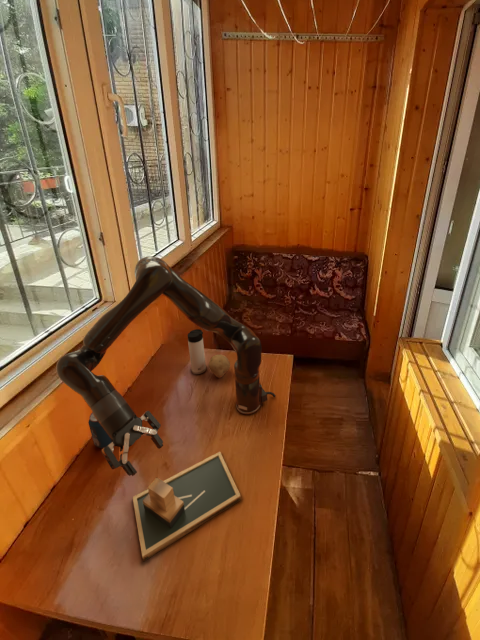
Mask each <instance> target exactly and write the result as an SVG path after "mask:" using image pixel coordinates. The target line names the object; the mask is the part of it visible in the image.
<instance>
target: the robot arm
mask: <svg viewBox="0 0 480 640" xmlns="http://www.w3.org/2000/svg"><path fill="white" fill-rule="evenodd" d="M134 278H135V282H134V283H133V286H132V287H131V289H130V290H129V292H128V293H127V294H126V296H124V298H123V299H122V300H121V301H119V303H117V304H116V305H115V306H114V307H112V308H111V309H109V310H107V311H106V312H105V313H104V314H103V315H102V316H101V317H99V319H98V320H96V322H95V323H94V324H93V325H92V327H91V328H90V329H89V330H88V331H87V332H86V334H85V335H84V336H83V339H82V343H83V345H82V346H81V347H80V348H79V349H78V350H75V351H72V352H69V353H66V354H64V355H62V356H61V357H60V358H59V359H58V360H57V362H56V366H55V369H56V370H55V371H56V374H57V377H58V378H59V380H61V382H62V383H64V385H66V386H67V387H68V388H70V389H71V390H72V391H74V392H75V393H77V394H78V395H80V396H81V398H82V399H83V400H84V402H85V403H86V405H87V406H88V407H89V409H90V410H91V413H92V412H93V414H94V416H95V418H96V419H97V421H98V422H99V423H100V424H101V426H102V427H103V429H104V430H105V431H106V433H107V434H108V435H109V437H110V438H111V441H112V443H110V444H109V445H108V446H106V447H104V448H101V455H102V456H103V457H104V459H105V461H106V462H107V464H108V465H109V467H110V469H111V470H116V469H118V468H120V467H121V468H122V470H124V472H125V474H126V475H127V476H132V477H133V476H135V475H136V474H137V473H138V471H137V470H136V468H135V467H134V466H133V464H132V463H131V462H130V460H128V456H129V455H128V453H129V450H130V449H129V448H130V447H132V446H133V445H134V444H135V442H136V441H138V440H139V439H140V438H141V437H150V440H151V441H152V443H153V444H154V445H155V446H156V448H157V449H158V450H159V449H162V447H164V440H163V438H161V436H160V435H159V434H158V431H159V430H160V428H161V423H160V422H159V420H157V418H156V417H155V416H154V415H153V414H152V413H151V411H150V410H146V411H145V412H143V413H142V415H141V416H140V417H139V416H137V414H136V412H135V411H134V410H133V408H132V407H131V406H130V405H129V403H128V402H127V400H126V399H125V398H124V396H122V394H121V393H120V392H119V391H118V390H117V389H116V388H115V386H114V385H113V383H112V382H111V380H110V379H109V378H108V377H107V376H106V375H103V374H95V373H94V372H92V371H94V370H95V369H96V368H97V367H98V366H99V364H100V363H101V362H102V360H103V358H104V356H105V355H106V353H107V351H108V349H109V348H111V346H112V345H113V344H114V343H115V341H116V340H117V339H118V338H119V337H120V336H121V335H122V333H123V332H124V331H125V330H126V328H127V327H128V326H129V325H131V323H132V322H133V321H134V320H135V319H136V318H137V317H138V316H139V315H140V314H141V313H142V312H143V311H144V310H145V309H147V308H148V307H149V306H150V305H151V304H152V303H153V302H155V301H156V300H157V299H158V298H160V297H161V295H163V296H164V297H166V298H167V299H168V300H169V301H170V302H171V303H172V304H173V305H174V306H175V307H176V308H177V309H178V311H179V312H180V313H181V314H182V315H183V316H184V317H185V318H186V319H188V320H189V321H190V322H191V323H193V324H194V325H196V326H197V327H198V328H200V329H201V330H204V331H207V332H211V333H214V334H217V335H218V336H220V337H222V338H223V339H224V340H225V341H226V342H228V344H229V345H230V346H231V347H232V349H233V350H234V352H235V354H236V359H237V360H235V362H234V364H233V365H234V366H233V367H234V369H233V371H234V386H235V387H234V388H235V406H236V410H237V411H238V413H240V414H242V415H252V414H255V413H257V412H258V411H259V409H260V407H262V406H263V403H264V402H267V401H268V395H270V396H272V397H273V398H276V394H275V393H274V392H272V391H266V390H265V389H264V388H263V386H262V384H261V380H260V379H261V378H260V377H261V375H260V366H261V364H262V352H263V351H262V350H263V349H262V342H261V340H260V338H259V337H258V335H256V333H255V332H254V330H252V329H251V328H250V327H249V326H247V325H245V324H243V323H242V322H240V321H238V320H236V319H234V318H233V317H232V316H231V315H230V314H229V313H228V311H226V310H225V309H224V308H223V307H222V306H220V305H219V304H218V303H217V302H216V301H214V299H212V298H211V297H210V296H208V295H207V294H205V293H204V292H203V291H201V290H200V289H198V288H197V287H196V286H193V285H192V284H191V283H190V282H187V281H186V280H185V279H183V278H182V277H181V276H180V275H179V274H178V273H177V272H176V271H175V270H174V269H173V268H172V267H171V266H170V265H169V264H167V262H166V261H165V260H163V259H162V258H160V257H157V256H150V255H148V256H144V257H142V258H140V259H139V260H138V261H137V263H136V264H135V266H134ZM143 422H146V423H147V424H149V425H150V427H151V428H150V427H144V426H143ZM114 447H118V448H119V450H118V456H119V459H117V456H115V453H114Z"/></svg>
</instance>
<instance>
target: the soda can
mask: <svg viewBox="0 0 480 640" xmlns="http://www.w3.org/2000/svg"><path fill="white" fill-rule="evenodd" d="M88 426H89V430H90V433H91V438H92V441H93V445H94V447H96V448H99V449H103V448H104V447H106V446H108V445H109V444H110V443H112V441H111V438H110V437H109V435H108V434H107V433H106V431H105V430H104V429H103V427H102V426H101V424H100V423H99V422H98V421H97V419H96V418H95V416H94V414H93V412H92V411H91V413H90V415H89V418H88Z"/></svg>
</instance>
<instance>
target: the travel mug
mask: <svg viewBox="0 0 480 640" xmlns="http://www.w3.org/2000/svg"><path fill="white" fill-rule="evenodd" d="M203 335H204V331H203V329H201V328H200V329H199V328H196V329H192V330H190V331H189V333H187V344H188V352H189V361H190V369H191V373H192V374H193V375H201V374H203V373H204V372H205V371H206V370H207V365H206V355H205V346H204V336H203Z"/></svg>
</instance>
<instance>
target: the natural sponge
mask: <svg viewBox="0 0 480 640" xmlns="http://www.w3.org/2000/svg"><path fill="white" fill-rule="evenodd" d="M230 368H231V361H230V359H228V357H227V356H225V355H224V354H215V355H213V356H212V357H211V358H210V359H209V361H208V369H209V370H210V372H211V373H212V375H214V376H215V377H216V378H223V377H224V375H225V374H226V373H227V372H228V371H229V370H230Z"/></svg>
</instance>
